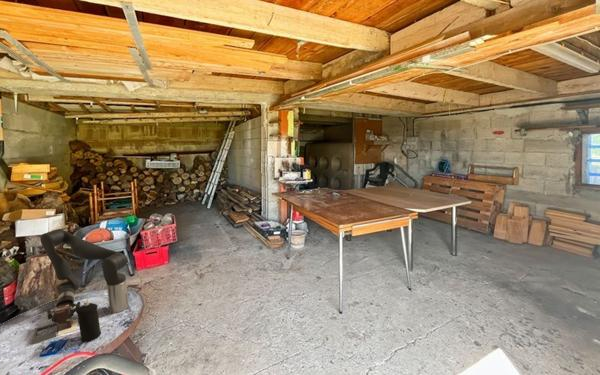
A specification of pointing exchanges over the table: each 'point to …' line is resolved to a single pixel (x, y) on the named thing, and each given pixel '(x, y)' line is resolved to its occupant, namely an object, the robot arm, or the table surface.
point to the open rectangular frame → (43, 337)
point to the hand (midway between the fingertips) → (62, 318)
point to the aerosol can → (88, 322)
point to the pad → (73, 328)
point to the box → (62, 317)
